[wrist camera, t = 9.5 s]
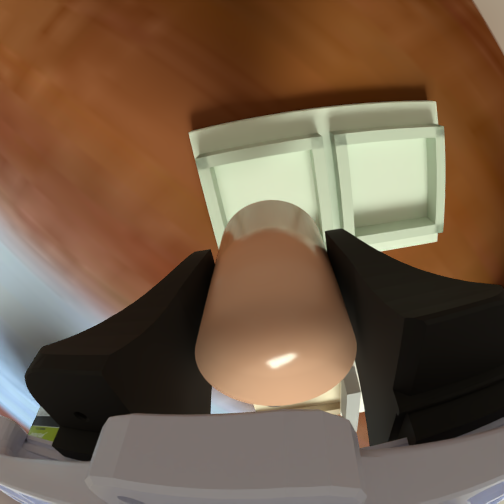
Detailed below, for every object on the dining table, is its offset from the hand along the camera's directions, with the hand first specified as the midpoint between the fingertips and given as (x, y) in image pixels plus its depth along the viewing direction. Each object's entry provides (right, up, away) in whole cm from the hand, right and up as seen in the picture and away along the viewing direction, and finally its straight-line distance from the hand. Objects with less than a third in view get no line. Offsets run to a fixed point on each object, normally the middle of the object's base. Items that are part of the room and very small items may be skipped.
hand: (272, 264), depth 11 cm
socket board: (+4, +4, +7) cm, 9 cm away
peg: (0, +1, +1) cm, 2 cm away
